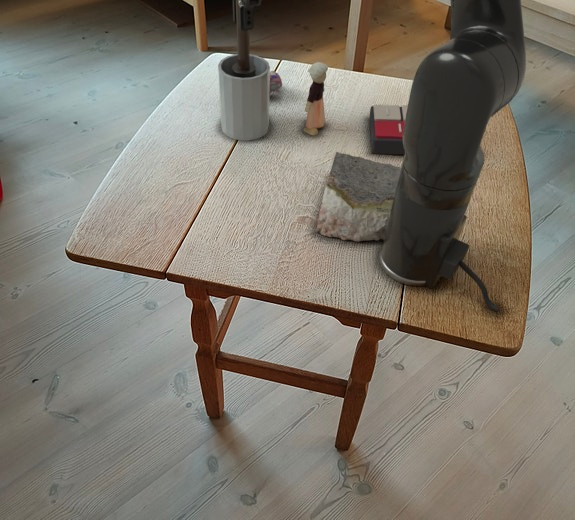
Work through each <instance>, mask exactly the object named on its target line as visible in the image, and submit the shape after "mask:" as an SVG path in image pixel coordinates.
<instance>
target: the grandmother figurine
mask: <svg viewBox="0 0 575 520" xmlns="http://www.w3.org/2000/svg"><path fill="white" fill-rule="evenodd" d="M328 68H329V66H328V65H327V64H326V63H325V62H319V61H317V62H313V63H312V64H311V66H310V67H309V68H308V69H307V72H308V73H309V76H310V78H311V80H312V83H311V84H310V86H309V91H308V96H307V98H306V103H305V107H304V111H305V112H306V113H307V114H306V120H305V127H304V129H303V132H304V133H306V134H308V135H310V136H317V135H318V134H319V130H318V129H321V128H323V127H324V126H325V125H326V115H325V114H326V111H325V104H324V103H325V102H324V93H325V81H326V79H327V72H328V70H329V69H328Z"/></svg>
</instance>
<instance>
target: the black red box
mask: <svg viewBox="0 0 575 520" xmlns="http://www.w3.org/2000/svg"><path fill="white" fill-rule="evenodd" d="M407 107H408V105H404V104H403V105H402V106H400V105H398V104H395V105H394V104H374V105H371V107H370V110H369V118H368V123H369V138H370V152H371V154H377V155H379V154H380V155H405V150H404V146H403V130H404V124H405V118H406V113H407Z"/></svg>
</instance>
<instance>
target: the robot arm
mask: <svg viewBox="0 0 575 520" xmlns="http://www.w3.org/2000/svg"><path fill="white" fill-rule="evenodd" d="M238 4H239V28H240V29H241V30H242V31H246V30H249V31H252V30H253V29H254V27H255V7H258V6H261V4H262V0H238ZM232 20H233V23H235V24H236V25H237V21H236V0H232ZM416 69H417V70H415V71H416V72H415V74H414V76H413V80H412V83H411V87H410V91H409V98H408V103H407V106H408V107H407V113H406V118H405V124H404V130H403V146H404V150H405V154H403V159H402V163H401V167H400V168H401V171H400V175H399V179H398V184H397V188H396V192H395V196H394V200H393V204H392V208H391V212H390V217H389V221H388V225H387V229H386V233H385V238H384V240H383V241H382V246H381V248H380V251H379V256H378V257H379V264H380V266H381V268H382V269H383V271H384V272H385V273H386V274H387V275H388V276H389V277H390V278H391V279H393V280H395V281H396V282H399V283H400V284H404V285H408V286H412V287H426V288H429V289H433V288H434V287H435V286H436V284H437V283H438V281H439V280H440V279H441V278H442V277H443V278H445V279H447V280H448V281H451V279H452V278H453V277H454V275H455V274H456V272H457V271H458V269H459V268H461V270H463V271H464V272H465V273H466V274H467V275H468V276H469V277H470V278H471V279H472V280H473V281H474V282H475V283H476V284H477V287H478V288H479V289H480V291H481V294H482V298H483V301H484V303H485V304H486V306H487V307H488V308H489V309H491V310H492V311H495V312H496V313H498V311H499V309H500V308H501V307H500V306H498V305H496V304H494V303H493V302H492V301H491V299H490V296H489V291H488V289H487V287H486V284H485V283H484V282H483V281H482V279H481V278H480V277H479V276H478V275H477V273H476V272H474V271H473V270H472V269H471V268H470V267H469V266H468V265H467V264H466V263H465V262H464V260H465V258H466V255H467V253H468V252H469V251H468V250H469V248H470V246H471V245H470V244H468V243H466V242H463V241H462V240H460V237H461V234H462V231H463V229H464V227H465V224H466V221H467V220H468V219H467V218H468V216H467V215H466V212H467V210H468V207H469V204H470V201H471V198H472V197H473V194H474V190H475V188H476V185H477V183H478V181H479V178H480V176H481V173H482V170H483V167H484V164H485V153H484V150H483V148H482V147H481V143H482V141H483V138H484V135H485V132H486V129H487V126H488V124H489V121H490V119H491V118H492V117H493V116H494V115H496V114H497V113H499V111H501V110H502V109H503V108H505V107H506V106H507V105H508V104H509V103H511V102H512V100H513V99H514V98H515V97H516V96H517V94H518V93H519V91H520V89H521V87H522V85H523V83H524V80H525V76H526V71H527V50H526V39H525V30H524V18H523V8H522V0H450V39H449V40H448V41H446V42H445V43H443V44H442V45H440V46H438V47H437V48H435V49H434V50H432V51H431V52H429V53H428V54H427V55H426V56H425V57H424V58H423V59H422V61H421V62H420V63H419V65H418V68H416Z"/></svg>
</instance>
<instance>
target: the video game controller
mask: <svg viewBox="0 0 575 520" xmlns="http://www.w3.org/2000/svg"><path fill="white" fill-rule="evenodd" d="M282 86H283V81H282V78H281V76H280V74H279V73H278V72H276V71H275V70H270V92H269V96H270V95H271V94H272V93H273V92H275V91H278V90H280V89H281V88H283V87H282Z"/></svg>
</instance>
